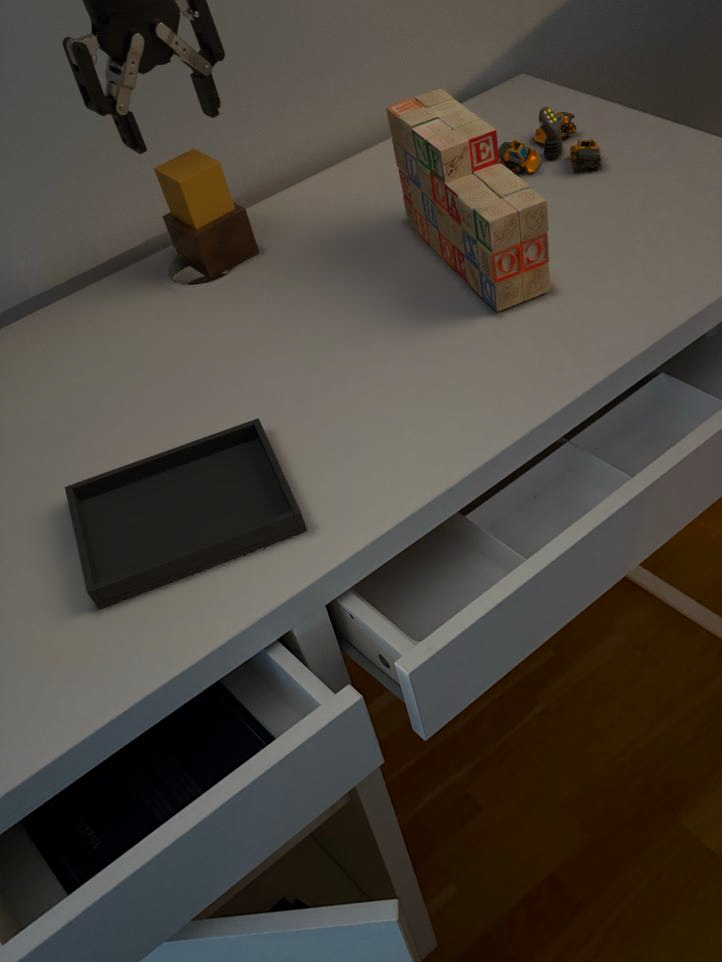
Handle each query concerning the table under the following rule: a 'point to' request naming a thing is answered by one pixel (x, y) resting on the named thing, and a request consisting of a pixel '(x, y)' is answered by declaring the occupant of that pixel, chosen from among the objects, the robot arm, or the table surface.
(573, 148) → the toy set
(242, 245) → the base block
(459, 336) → the table surface
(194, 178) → the top cube
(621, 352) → the table surface
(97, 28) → the robot arm
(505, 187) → the stack of blocks
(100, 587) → the tray
